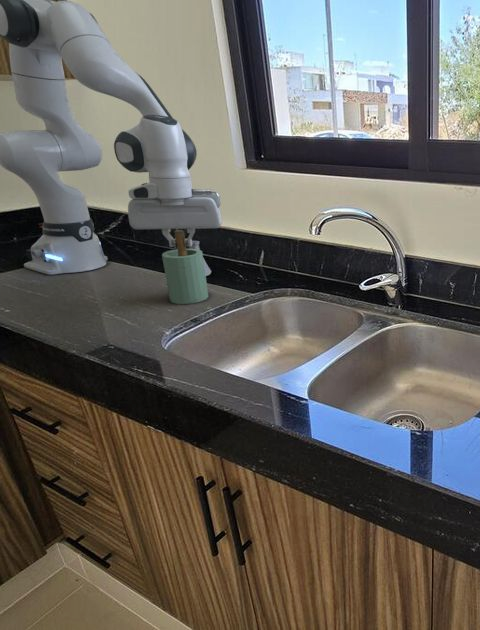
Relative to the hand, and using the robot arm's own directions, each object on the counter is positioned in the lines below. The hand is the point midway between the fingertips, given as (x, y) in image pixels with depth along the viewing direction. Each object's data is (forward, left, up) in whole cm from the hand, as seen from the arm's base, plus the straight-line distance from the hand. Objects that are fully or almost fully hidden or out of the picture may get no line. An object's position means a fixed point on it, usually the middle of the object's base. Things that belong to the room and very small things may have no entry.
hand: (181, 246), depth 117 cm
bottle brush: (0, 0, -12) cm, 12 cm away
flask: (-12, +17, -14) cm, 25 cm away
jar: (0, 0, -14) cm, 14 cm away
